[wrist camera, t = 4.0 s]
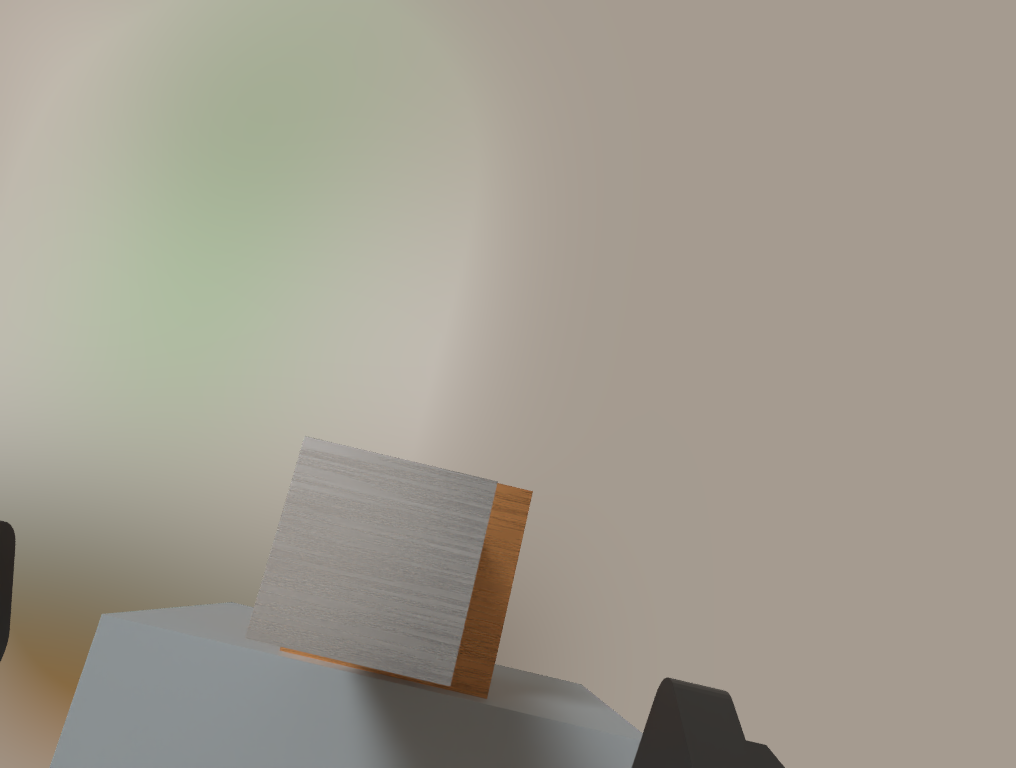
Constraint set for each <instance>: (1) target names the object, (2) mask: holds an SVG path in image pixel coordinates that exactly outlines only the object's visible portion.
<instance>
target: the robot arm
mask: <svg viewBox="0 0 1016 768" xmlns="http://www.w3.org/2000/svg"><path fill="white" fill-rule="evenodd" d="M14 557H15V533H14V530H13V528H12V527H11V525H10V524H9V523H7V522H4V521H0V661H1V659H2V657H3V654H4V652H5V649H6V646H7V642H8V638H9V630H10V615H11V601H12V600H11V599H12V586H13V571H14ZM632 768H785V767H784V766H783V765H782V764H781V763H780V761H779V760H778V759H777V758H776V756H775V755H774V754H773V753H772V752H771V750H770V749H769V748H768V747H767V746H766V745H763V744H759V743H755V742H750V741H746V740H745V737H744V734H743V731H742V728H741V725H740V722H739V719H738V716H737V713H736V710H735V707H734V704H733V701H732V699H731V696H730V695H729V693H728V692H726V691H723V690H719V689H715V688H711V687H706V686H702V685H698V684H693V683H689V682H684V681H681V680H676V679H672V678H665V679H664V680H663V681H662V682H661V684H660V686H659V688H658V690H657V693H656V696H655V699H654V702H653V705H652V708H651V711H650V714H649V717H648V720H647V723H646V726H645V729H644V732H643V735H642V738H641V741H640V744H639V747H638V750H637V753H636V756H635V759H634V762H633V765H632Z"/></svg>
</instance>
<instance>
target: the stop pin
mask: <svg viewBox="0 0 1016 768" xmlns="http://www.w3.org/2000/svg"><path fill="white" fill-rule="evenodd" d="M532 493H533V491H528V490H524V489H520V488H516V487H512V486H507V485H503V484H499V483H498V482H497V481H492V480H488V479H484V478H480V477H476V476H471V475H467V474H463V473H459V472H454V471H450V470H446V469H442V468H438V467H433V466H429V465H425V464H421V463H417V462H412V461H408V460H404V459H400V458H396V457H391V456H387V455H383V454H378V453H374V452H370V451H366V450H361V449H358V448H353V447H349V446H345V445H340V444H336V443H332V442H328V441H324V440H320V439H315V438H311V437H307V436H305V438H304V440H303V444H302V447H301V451H300V454H299V457H298V461H297V464H296V468H295V471H294V474H293V478H292V481H291V484H290V488H289V491H288V494H287V498H286V501H285V505H284V508H283V511H282V515H281V518H280V521H279V525H278V528H277V532H276V535H275V539H274V542H273V545H272V549H271V552H270V556H269V559H268V562H267V565H266V569H265V572H264V576H263V579H262V582H261V586H260V589H259V593H258V596H257V599H256V603H255V606H254V609H253V613H252V616H251V619H250V623H249V626H248V630H247V633H246V636H245V638H246V639H250V640H254V641H258V642H263V643H267V644H271V645H276V646H280V651H284V652H288V653H292V654H297V655H301V656H305V657H310V658H314V659H318V660H322V661H327V662H331V663H335V664H339V665H344V666H348V667H352V668H356V669H361V670H365V671H369V672H373V673H378V674H382V675H386V676H391V677H395V678H399V679H403V680H408V681H412V682H416V683H420V684H425V685H429V686H433V687H437V688H442V689H446V690H450V691H455V692H459V693H463V694H467V695H472V696H476V697H480V698H484V699H487V697H488V692H489V688H490V683H491V679H492V674H493V670H494V665H495V661H496V656H497V652H498V647H499V643H500V638H501V633H502V629H503V624H504V619H505V615H506V611H507V606H508V602H509V597H510V593H511V588H512V583H513V579H514V574H515V570H516V565H517V561H518V556H519V552H520V547H521V542H522V538H523V534H524V529H525V524H526V519H527V515H528V511H529V505H530V502H531V497H532Z"/></svg>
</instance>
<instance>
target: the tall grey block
mask: <svg viewBox="0 0 1016 768" xmlns="http://www.w3.org/2000/svg"><path fill="white" fill-rule="evenodd" d="M253 609H254V607H250V606H245V605H241V604H237V603H233V602H229V603H218V604H207V605H197V606H186V607H175V608H164V609H153V610H142V611H132V612H121V613H110V614H102V616H101V619H100V622H99V624H98V628H97V630H96V634H95V637H94V639H93V642H92V645H91V648H90V651H89V654H88V657H87V660H86V663H85V666H84V668H83V671H82V674H81V677H80V680H79V683H78V686H77V689H76V693H75V695H74V698H73V701H72V704H71V707H70V710H69V713H68V715H67V718H66V722H65V724H64V727H63V730H62V733H61V736H60V739H59V742H58V745H57V748H56V751H55V754H54V756H53V759H52V763H51V765H50V768H632V765H633V762H634V759H635V756H636V753H637V750H638V747H639V744H640V741H641V738H642V735H643V733H641V732H640V731H639V730H638V729H636V728H635V727H634V726H633V725H631V724H630V723H629V722H628V721H626V720H625V719H624V718H623V717H621V716H620V715H619V714H618V713H616V712H615V711H614V710H612V709H611V708H610V707H609V706H608V705H606V704H605V703H604V702H603V701H601V700H600V699H599V698H598V697H596V696H595V695H594V694H593V693H591V692H590V691H589V690H588V689H586V688H585V687H584V686H583V685H581V684H577V683H573V682H569V681H564V680H560V679H556V678H552V677H548V676H543V675H539V674H535V673H531V672H526V671H522V670H518V669H513V668H509V667H505V666H501V665H496V664H495V665H494V670H493V674H492V679H491V683H490V688H489V692H488V697H487V699H484V698H480V697H476V696H472V695H467V694H463V693H459V692H455V691H450V690H446V689H442V688H437V687H433V686H429V685H425V684H420V683H416V682H412V681H408V680H403V679H399V678H395V677H391V676H386V675H382V674H378V673H373V672H369V671H365V670H361V669H356V668H352V667H348V666H344V665H339V664H335V663H331V662H327V661H322V660H318V659H314V658H310V657H305V656H301V655H297V654H292V653H288V652H284V651H280V646H276V645H271V644H267V643H263V642H258V641H254V640H250V639H246V638H245V636H246V633H247V630H248V626H249V623H250V619H251V616H252V613H253Z"/></svg>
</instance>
